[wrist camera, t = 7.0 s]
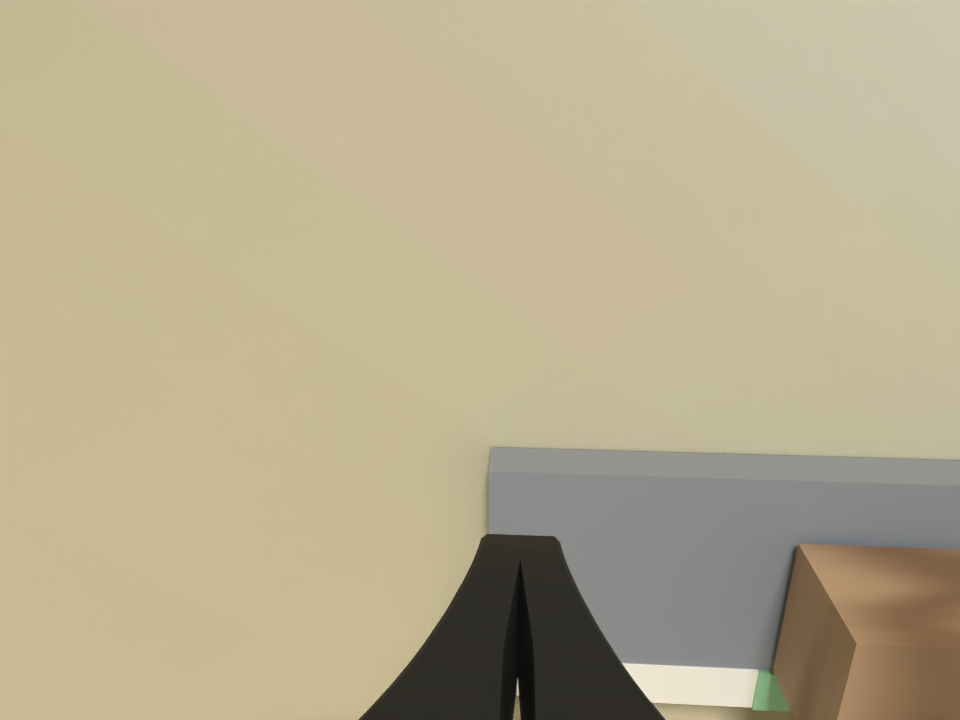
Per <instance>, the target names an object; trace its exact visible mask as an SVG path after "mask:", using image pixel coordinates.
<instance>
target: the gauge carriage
mask: <svg viewBox="0 0 960 720" xmlns="http://www.w3.org/2000/svg"><path fill="white" fill-rule="evenodd" d="M773 672H774V674H775V676H776V679H777V681H778V684H779V686H780V688H781V691H782V693H783V696H784V698H785V701H786V703H787V705H788V708H789V710H790V713H791V715H792V717H793V720H960V549H933V548H905V547H877V546H849V545H821V544H798V549H797V554H796V559H795V563H794V568H793V573H792V578H791V583H790V588H789V593H788V598H787V603H786V608H785V613H784V618H783V623H782V628H781V633H780V638H779V643H778V648H777V653H776V658H775V663H774V668H773Z"/></svg>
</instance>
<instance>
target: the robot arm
mask: <svg viewBox="0 0 960 720" xmlns="http://www.w3.org/2000/svg"><path fill="white" fill-rule="evenodd" d="M517 679H518V688H519V701H520V714H521V720H665V719H664V717H663V716H662V715H661V714H660V713H659V711H658V710H657V709H656V708H655V706H654V705H653V704H652V703H651V702H650V700H649V699H648V698H647V697H646V695H645V694H644V693H643V691H642V690H641V689H640V687H639V686H638V685H637V683H636V682H635V681H634V680H633V678H632V677H631V675H630V674H629V673H628V671H627V670H626V668H625V667H624V665H623V664H622V663H621V661H620V660H619V658H618V657H617V655H616V654H615V652H614V650H613V649H612V647H611V646H610V644H609V643H608V641H607V640H606V638H605V636H604V635H603V633H602V631H601V630H600V628H599V626H598V625H597V623H596V621H595V619H594V618H593V616H592V614H591V612H590V610H589V608H588V607H587V605H586V603H585V601H584V599H583V597H582V595H581V593H580V591H579V589H578V587H577V585H576V583H575V581H574V579H573V576H572V574H571V572H570V570H569V567H568V565H567V562H566V560H565V557H564V554H563V551H562V548H561V544H560V541H559V540H558V539H557V538H556V537H555V536H535V535H507V534H486V535H485V536H484V537H483V538H482V539H481V541H480V544H479V548H478V550H477V553H476V555H475V558H474V560H473V562H472V564H471V567H470V569H469V571H468V573H467V575H466V577H465V579H464V581H463V582H462V584H461V586H460V588H459V589H458V591H457V593H456V595H455V596H454V598H453V600H452V602H451V603H450V605H449V607H448V608H447V610H446V612H445V613H444V615H443V616H442V618H441V619H440V621H439V622H438V624H437V625H436V627H435V628H434V630H433V631H432V633H431V634H430V636H429V637H428V639H427V640H426V642H425V643H424V644H423V646H422V647H421V648H420V650H419V651H418V652H417V654H416V655H415V656H414V658H413V659H412V660H411V661H410V663H409V664H408V665H407V667H406V668H405V669H404V670H403V671H402V673H401V674H400V675H399V676H398V677H397V679H396V680H395V681H394V682H393V683H392V684H391V686H390V687H389V688H388V689H387V690H386V691H385V692H384V693H383V694H382V695H381V696H380V698H379V699H378V700H377V701H376V702H375V703H374V704H373V705H372V706H371V707H370V708H369V709H368V711H367V712H366V713H365V714H364V715H363V716H362V717H361V718H360V719H359V720H513V713H514V705H515V696H516V688H517Z"/></svg>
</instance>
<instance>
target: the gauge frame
mask: <svg viewBox="0 0 960 720" xmlns="http://www.w3.org/2000/svg"><path fill="white" fill-rule="evenodd" d="M488 534H507V535H535V536H555V537H556V538H557V539H558V540H559V541H560V544H561V548H562V551H563V554H564V557H565V560H566V562H567V565H568V567H569V570H570V572H571V574H572V576H573V579H574V581H575V583H576V585H577V587H578V589H579V591H580V593H581V595H582V597H583V599H584V601H585V603H586V605H587V607H588V608H589V610H590V612H591V614H592V616H593V618H594V619H595V621H596V623H597V625H598V626H599V628H600V630H601V631H602V633H603V635H604V636H605V638H606V640H607V641H608V643H609V644H610V646H611V647H612V649H613V650H614V652H615V654H616V655H617V657H618V658H619V660H620V661H621V663H622V664H623V665H624V667H625V668H626V670H627V671H628V673H629V674H630V675H631V677H632V678H633V680H634V681H635V682H636V683H637V685H638V686H639V687H640V689H641V690H642V691H643V693H644V694H645V695H646V697H647V698H648V699H649V700H650V702H651V703H670V704H690V705H710V706H730V707H750V708H752V710H762V711H781V712H790V710H789V708H788V705H787V703H786V701H785V698H784V696H783V693H782V691H781V688H780V686H779V684H778V681H777V679H776V676H775V674H774V672H773V668H774V663H775V658H776V653H777V648H778V643H779V638H780V633H781V628H782V623H783V618H784V613H785V608H786V603H787V598H788V593H789V588H790V583H791V578H792V573H793V568H794V563H795V559H796V554H797V549H798V544H821V545H849V546H877V547H905V548H933V549H960V460H933V459H897V458H862V457H826V456H791V455H755V454H719V453H684V452H648V451H613V450H577V449H542V448H506V447H491V449H490V459H489V468H488ZM516 696H519V688H518V679H517V688H516Z"/></svg>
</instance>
